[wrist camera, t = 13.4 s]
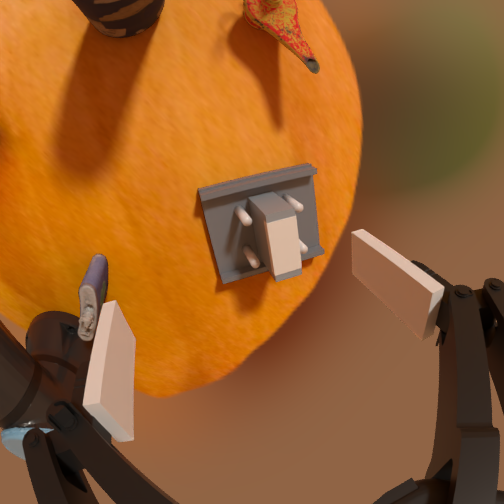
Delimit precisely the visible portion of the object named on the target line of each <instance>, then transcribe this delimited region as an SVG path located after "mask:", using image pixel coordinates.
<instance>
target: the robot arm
mask: <svg viewBox="0 0 504 504" xmlns="http://www.w3.org/2000/svg"><path fill="white" fill-rule="evenodd" d="M351 235H352V274H353V275H354V276H355V277H356V278H357V279H358V280H360V282H362V283H363V284H364V285H365V286H366V287H367V288H368V289H369V290H370V291H371V292H372V293H373V294H374V295H375V296H376V297H377V298H378V299H379V300H381V302H383V303H384V304H385V305H386V306H387V307H388V308H389V309H390V310H391V311H392V312H393V313H394V314H395V315H396V316H397V317H398V318H399V319H400V320H401V321H402V322H403V323H404V324H405V325H406V326H407V327H408V328H409V329H410V330H411V331H412V332H413V333H414V334H415V335H416V336H417V337H418V338H419V339H420V340H421V341H423V340H424V339H426V338H428V337H430V336H431V335H433V333H434V329H435V326H436V325H437V326H438V327H439V328H440V332H439V336H438V339H437V342H436V346H438V343H439V394H438V409H437V422H436V431H435V439H434V448H433V454H432V459H431V462H430V465H429V467H428V469H427V472H426V476H425V479H422V480H417V481H414V480H413V479H412V478H410V479H409V480H407V481H405V482H404V483H402V484H400V485H399V486H397V487H395V488H393V489H392V490H390V491H388V492H386V493H385V494H384V495H383V496H382V497H380V498H379V499H378V500H377V501H375V502H374V503H373V504H504V491H500V490H497V484H498V473H499V453H500V452H499V451H500V434H499V430H498V428H494V427H493V425H492V407H491V406H492V405H491V389H490V378H489V371H490V374H491V377H492V380H493V382H494V385H495V388H496V391H497V394H498V397H499V401H500V404H501V407H502V411H503V414H504V283H503V282H502V281H501V280H499V279H496V278H489V279H486V280H485V282H484V286H483V288H482V289H478V290H472V289H471V288H469V287H467V286H465V285H456V286H453V285H451V284H450V283H449V282H447V281H446V280H445V279H443V278H441V277H440V276H439V275H438V274H435V272H434V271H432V270H430V269H429V268H428V267H427V266H425V265H424V264H422V263H420V262H417V261H414V260H413V261H408V260H407V259H406V258H404V257H403V256H402V255H400V254H399V253H397V252H395V251H394V250H393V249H391V248H390V247H389V246H387V245H386V244H384V243H383V242H381V241H380V240H378V239H377V238H375V237H374V236H372V235H371V234H369V233H368V232H366V231H365V230H363V229H361V230H357V231H354V232H351ZM79 320H80V318H79V317H77V316H74V315H72V314H69V313H66V312H60V311H48V312H44V313H41V314H39V315H38V316H36V317H35V318H34V319H33V321H32V322H31V324H30V326H29V328H28V331H27V334H26V349H25V348H24V347H23V346H22V345H21V344H20V343H19V342H18V341H17V340H16V338H15V337H14V336H13V335H12V334H11V333H10V331H9V330H8V329H7V328H6V327H5V325H4V324H3V323H2V322H1V320H0V428H1V429H2V430H3V431H2V433H1V437H2V443H3V445H4V446H5V447H6V448H7V449H8V450H9V451H10V452H11V453H13V454H14V455H16V456H18V457H20V458H22V459H24V460H26V463H27V467H28V471H29V475H30V478H31V482H32V485H33V488H34V492H35V495H36V498H37V501H38V504H99V503H98V501H97V499H96V497H95V495H94V493H93V491H92V489H91V487H90V485H89V483H88V481H87V479H86V477H85V474H84V472H83V470H82V469H84V468H85V469H86V470H87V471H88V472H89V473H90V475H91V476H92V477H93V478H94V480H95V481H96V482H97V483H98V484H99V485H100V486H101V488H102V489H103V490H104V491H105V492H106V493H107V494H108V495H109V497H110V498H111V499H112V500H113V501H114V502H115V503H116V504H179V503H178V502H176V501H175V500H174V499H173V498H171V497H170V496H169V495H167V494H166V493H165V492H164V491H162V490H161V489H160V488H159V487H158V486H156V485H155V484H154V483H153V482H152V481H151V480H149V479H148V478H147V477H146V476H145V475H144V474H143V473H141V472H140V471H139V470H138V469H137V468H136V467H135V466H134V465H133V464H132V463H131V462H130V461H128V459H126V458H125V457H124V456H123V455H122V454H121V453H120V452H119V451H118V450H117V449H116V448H115V447H114V446H113V445H112V444H111V436H112V437H113V438H114V439H115V440H116V441H118V442H123V441H131V440H134V417H133V399H134V362H135V343H136V339H135V337H134V335H133V333H132V331H131V329H130V327H129V325H128V324H127V322H126V320H125V318H124V316H123V314H122V312H121V310H120V308H119V306H118V304H117V301H116V300H114V301H111V302H107V303H104V304H103V306H102V310H101V314H100V318H99V322H98V326H97V331H96V332H95V335H94V338H93V339H92V340H91V341H83V340H82V339H80V337H79V336H78V327H79ZM496 320H497V323H496Z"/></svg>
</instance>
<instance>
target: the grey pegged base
mask: <svg viewBox="0 0 504 504" xmlns="http://www.w3.org/2000/svg"><path fill="white" fill-rule="evenodd" d="M314 174H317V168H315V167H312V166H311V164H309V163H307V164H301V165H297V166H292V167H287V168H282V169H278V170H273V171H268V172H264V173H260V174H255V175H251V176H247V177H242V178H238V179H234V180H230V181H226V182H222V183H218V184H214V185H210V186H206V187H203V188H199V189H198V191H199V196H200V200H201V204H202V208H203V212H204V216H205V220H206V224H207V227H208V231H209V235H210V239H211V243H212V247H213V251H214V254H215V258H216V262H217V266H218V269H219V273H220V277H221V280H222V282H223V284H226V283H229V282H233V281H236V280H239V279H243V278H246V277H250V276H253V275H256V274H260V273H263V272H266V271H269V270H268V269H267V267H266V266H265V264H264V263H263V261H262V260H261V258H260V256H259V255H258V249H257V244H256V239H255V233H254V228H253V222H252V217H251V212H250V206H249V201H248V197H250V196H254V195H258V194H262V193H266V192H270V191H273V192H274V193H275V194H277V195H278V196H279V197H281V198H282V199H284V200H285V201H286V202H287V203H289V204H290V205H291V206H293V207H294V208H295V215H296V219H297V227H298V236H299V245H300V254H301V261H303V260H306V259H309V258H313V257H316V256H319V255H322V254H324V249H323V248H322V247H321V246H320V245H319V233H318V222H317V211H316V202H315V192H314V183H313V175H314Z"/></svg>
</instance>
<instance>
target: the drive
mask: <svg viewBox="0 0 504 504" xmlns="http://www.w3.org/2000/svg"><path fill="white" fill-rule="evenodd" d="M248 201H249V206H250V212H251V217H252V222H253V228H254V233H255V239H256V244H257V249H258V255H259V256H260V258H261V260H262V261H263V263H264V264H265V266H266V267H267V269H268V270H269V272H270V273H271V275H272V276H273V278H274V280H275V281H276V282H278V281H281V280H285V279H288V278H291V277H294V276H298V275H301V274H302V270H301V268H302V263H301V254H300V245H299V236H298V227H297V219H296V215H295V208H294V207H293V206H291V205H290V204H289V203H287V202H286V201H285V200H284V199H282V198H281V197H279V196H278V195H277V194H275V193H274V192H273V191H270V192H266V193H262V194H258V195H254V196H250V197H248Z"/></svg>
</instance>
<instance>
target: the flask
mask: <svg viewBox="0 0 504 504" xmlns="http://www.w3.org/2000/svg"><path fill="white" fill-rule="evenodd" d="M107 289H108V262H107V259H106V257H105V256H104V255H103V256H102V254H96V255H94V256H93V258H92V261H91V263H90V265H89V268H88V270H87V272H86V275H85V277H84V279H83V281H82V283H81V285H80V287H79V292H78V293H79V299H80V320H79V327H78V336H79V337H80V339H82V340H83V341H91V340H92V339H93V338H94V335H95V332H96V328H97V324H98V319H99V316H100V312H101V309H102V305H103V303H104V300H105V297H106V294H107Z"/></svg>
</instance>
